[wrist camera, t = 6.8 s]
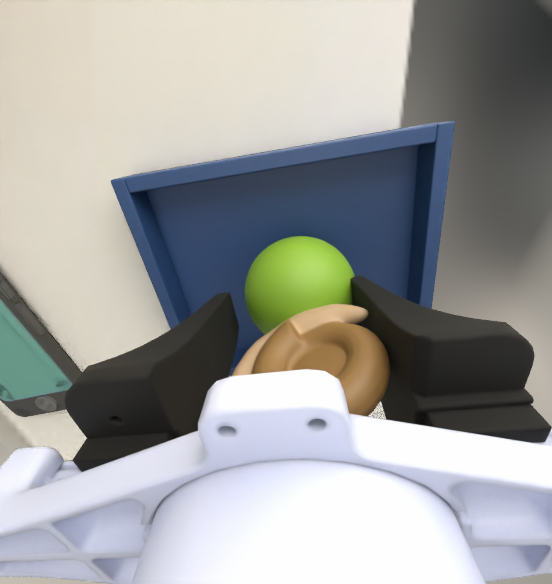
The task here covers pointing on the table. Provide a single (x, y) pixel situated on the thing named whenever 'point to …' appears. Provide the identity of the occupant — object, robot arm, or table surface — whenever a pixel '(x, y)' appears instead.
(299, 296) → the snail figurine
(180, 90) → the table surface
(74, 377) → the smartphone
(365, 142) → the tray
